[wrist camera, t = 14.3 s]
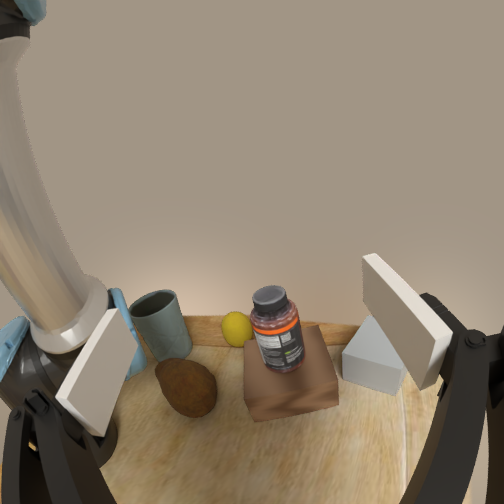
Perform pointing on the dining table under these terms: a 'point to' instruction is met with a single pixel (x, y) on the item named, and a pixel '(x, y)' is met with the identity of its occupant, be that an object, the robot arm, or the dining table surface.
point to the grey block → (373, 360)
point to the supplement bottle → (277, 329)
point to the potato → (187, 386)
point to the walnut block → (290, 381)
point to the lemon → (236, 329)
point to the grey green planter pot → (161, 324)
